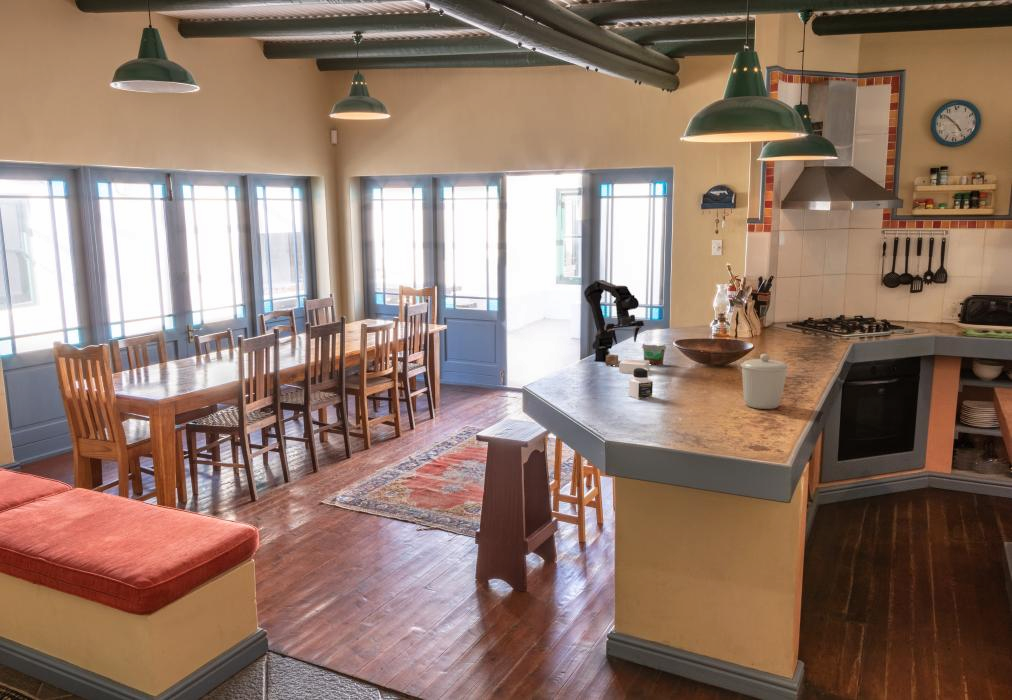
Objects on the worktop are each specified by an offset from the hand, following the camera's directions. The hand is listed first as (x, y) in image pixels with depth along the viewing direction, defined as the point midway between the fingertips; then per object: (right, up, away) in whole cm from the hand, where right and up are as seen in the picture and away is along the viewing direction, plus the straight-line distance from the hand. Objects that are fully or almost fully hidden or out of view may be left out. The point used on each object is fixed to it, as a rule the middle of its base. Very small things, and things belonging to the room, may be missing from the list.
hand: (625, 343), depth 389 cm
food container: (+15, -11, +11) cm, 21 cm away
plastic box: (+3, -14, -7) cm, 16 cm away
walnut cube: (-6, -11, +8) cm, 15 cm away
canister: (+42, -26, -75) cm, 90 cm away
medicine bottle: (-3, -23, -60) cm, 64 cm away
